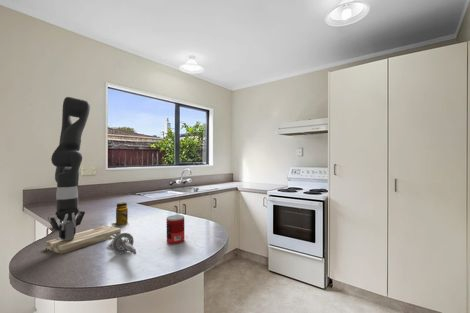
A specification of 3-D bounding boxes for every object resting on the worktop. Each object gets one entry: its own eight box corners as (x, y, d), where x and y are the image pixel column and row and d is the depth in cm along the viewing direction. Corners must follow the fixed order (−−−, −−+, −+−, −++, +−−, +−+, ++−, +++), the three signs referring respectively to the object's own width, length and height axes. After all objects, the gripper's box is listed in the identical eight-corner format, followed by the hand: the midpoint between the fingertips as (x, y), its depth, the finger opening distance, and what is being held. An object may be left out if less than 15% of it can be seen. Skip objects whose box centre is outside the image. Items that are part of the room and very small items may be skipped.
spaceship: (118, 249, 75) (141, 235, 80) (101, 233, 103) (119, 224, 107) (129, 269, 77) (151, 254, 81) (109, 249, 104) (126, 238, 109)
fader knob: (61, 243, 98) (60, 223, 98) (68, 240, 101) (68, 221, 101) (66, 244, 96) (66, 224, 96) (73, 242, 99) (73, 222, 99)
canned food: (187, 239, 107) (187, 215, 107) (178, 245, 99) (177, 219, 99) (173, 237, 109) (173, 214, 110) (163, 243, 102) (162, 218, 102)
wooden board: (46, 248, 97) (46, 241, 97) (105, 231, 120) (105, 225, 120) (61, 254, 91) (61, 245, 91) (120, 234, 114) (120, 228, 114)
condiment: (129, 224, 132) (129, 203, 132) (112, 227, 127) (112, 205, 128) (127, 221, 138) (127, 201, 138) (111, 224, 134) (111, 203, 134)
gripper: (79, 194, 107) (79, 231, 107) (43, 199, 94) (43, 241, 94) (89, 195, 103) (89, 234, 103) (52, 200, 91) (52, 244, 91)
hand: (67, 237), depth 99 cm, fingers closed on fader knob, 3 cm apart
